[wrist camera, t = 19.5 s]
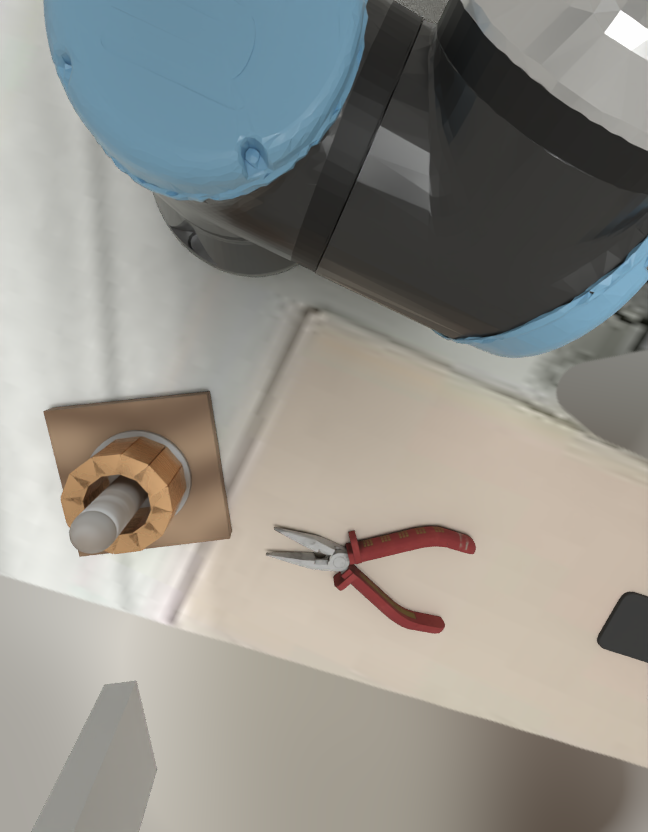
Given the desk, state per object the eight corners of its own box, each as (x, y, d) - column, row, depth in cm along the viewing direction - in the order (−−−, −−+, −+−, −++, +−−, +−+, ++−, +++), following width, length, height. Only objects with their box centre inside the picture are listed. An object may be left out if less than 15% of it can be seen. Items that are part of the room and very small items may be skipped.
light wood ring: (81, 442, 39) (51, 461, 34) (176, 432, 39) (160, 449, 34) (101, 528, 41) (75, 558, 36) (192, 518, 41) (179, 546, 36)
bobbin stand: (52, 407, 40) (-57, 452, 28) (209, 391, 41) (173, 427, 28) (86, 548, 44) (3, 645, 31) (231, 530, 44) (208, 619, 32)
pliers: (286, 483, 44) (285, 494, 42) (473, 531, 47) (483, 544, 44) (255, 584, 46) (253, 600, 44) (435, 624, 49) (443, 641, 47)
